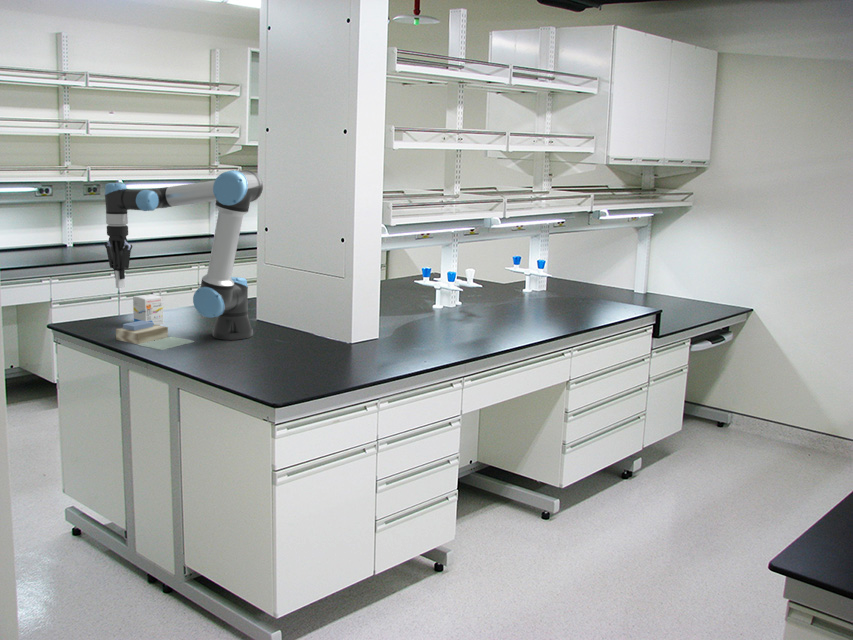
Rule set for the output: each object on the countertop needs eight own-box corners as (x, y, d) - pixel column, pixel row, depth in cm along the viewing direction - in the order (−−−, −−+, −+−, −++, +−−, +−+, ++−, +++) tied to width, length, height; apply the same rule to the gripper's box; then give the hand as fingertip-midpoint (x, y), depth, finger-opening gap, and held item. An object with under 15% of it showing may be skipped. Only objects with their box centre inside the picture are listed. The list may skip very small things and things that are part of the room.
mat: (194, 341, 302) (194, 341, 302) (161, 350, 289) (161, 349, 289) (171, 337, 308) (171, 336, 308) (138, 345, 294) (138, 344, 294)
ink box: (145, 327, 322) (144, 298, 320) (133, 324, 327) (132, 296, 325) (164, 324, 329) (163, 296, 327) (151, 321, 334) (150, 293, 332)
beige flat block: (168, 337, 308) (167, 327, 307) (138, 344, 296) (137, 333, 295) (146, 332, 314) (145, 322, 313) (116, 339, 302) (115, 329, 301)
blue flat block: (153, 326, 307) (153, 322, 307) (134, 330, 300) (133, 326, 299) (142, 324, 310) (142, 320, 310) (123, 328, 302) (122, 324, 302)
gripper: (137, 225, 301) (140, 288, 306) (113, 223, 308) (116, 284, 313) (120, 227, 295) (123, 290, 300) (97, 224, 301) (100, 286, 306)
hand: (120, 287), depth 306 cm, fingers closed
